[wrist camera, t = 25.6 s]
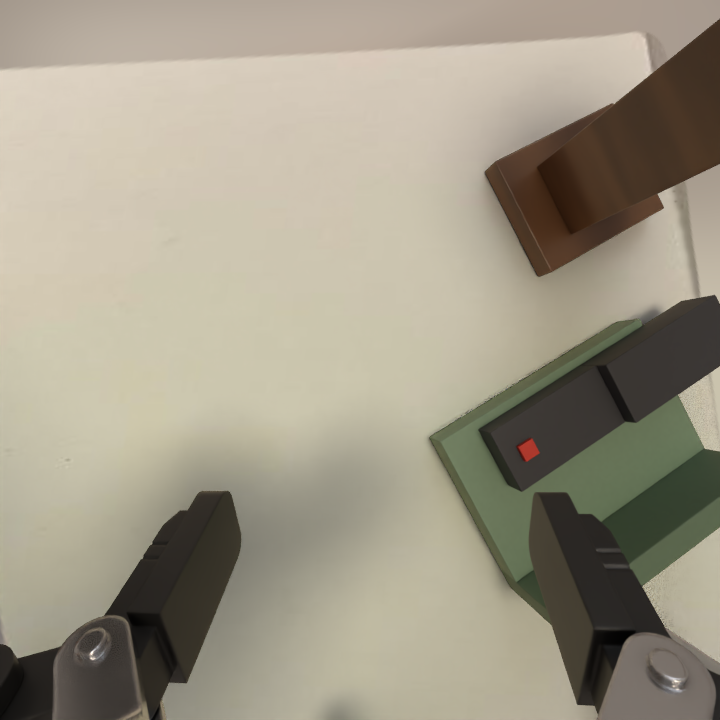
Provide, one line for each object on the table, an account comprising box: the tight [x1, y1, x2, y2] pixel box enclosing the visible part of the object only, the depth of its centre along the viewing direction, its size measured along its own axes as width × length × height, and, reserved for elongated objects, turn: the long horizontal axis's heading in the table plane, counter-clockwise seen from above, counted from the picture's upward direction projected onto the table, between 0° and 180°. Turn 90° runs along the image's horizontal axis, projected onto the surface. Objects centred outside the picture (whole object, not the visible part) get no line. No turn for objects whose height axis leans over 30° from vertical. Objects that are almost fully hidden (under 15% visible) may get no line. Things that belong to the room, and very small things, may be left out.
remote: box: [478, 295, 720, 492], centre depth 27 cm, size 17×4×2 cm, turn 119°
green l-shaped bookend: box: [430, 319, 720, 625], centre depth 27 cm, size 16×12×6 cm
